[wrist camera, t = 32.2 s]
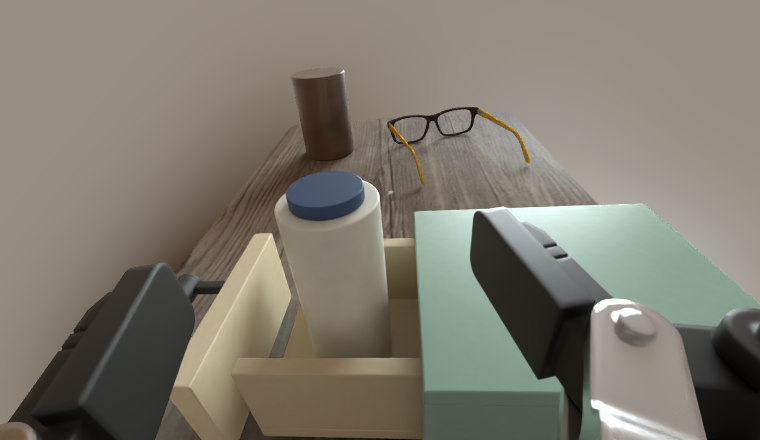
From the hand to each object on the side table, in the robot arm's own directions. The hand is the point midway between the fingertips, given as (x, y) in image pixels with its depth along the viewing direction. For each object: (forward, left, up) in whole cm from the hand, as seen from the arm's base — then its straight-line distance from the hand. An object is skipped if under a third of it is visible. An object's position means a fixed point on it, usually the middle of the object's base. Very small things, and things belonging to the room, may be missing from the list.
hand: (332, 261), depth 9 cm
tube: (+4, +4, -11) cm, 12 cm away
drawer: (+2, +6, -12) cm, 14 cm away
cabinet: (+9, -5, -13) cm, 17 cm away
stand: (+30, +29, -13) cm, 44 cm away
